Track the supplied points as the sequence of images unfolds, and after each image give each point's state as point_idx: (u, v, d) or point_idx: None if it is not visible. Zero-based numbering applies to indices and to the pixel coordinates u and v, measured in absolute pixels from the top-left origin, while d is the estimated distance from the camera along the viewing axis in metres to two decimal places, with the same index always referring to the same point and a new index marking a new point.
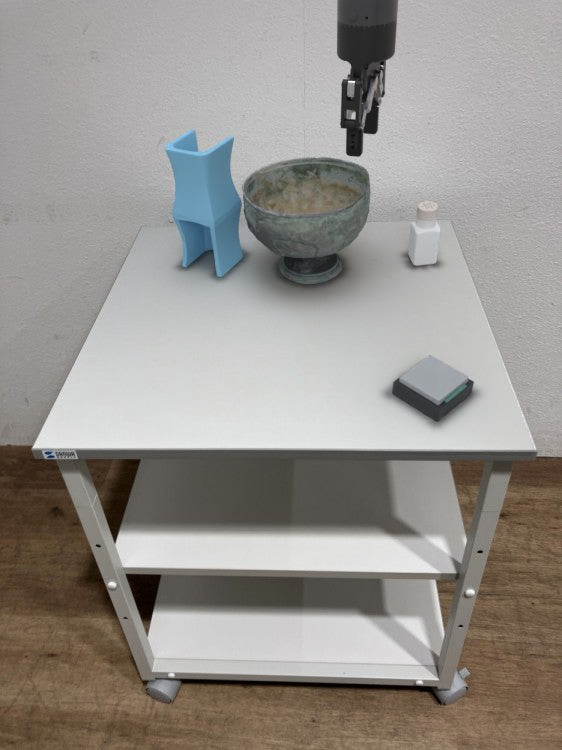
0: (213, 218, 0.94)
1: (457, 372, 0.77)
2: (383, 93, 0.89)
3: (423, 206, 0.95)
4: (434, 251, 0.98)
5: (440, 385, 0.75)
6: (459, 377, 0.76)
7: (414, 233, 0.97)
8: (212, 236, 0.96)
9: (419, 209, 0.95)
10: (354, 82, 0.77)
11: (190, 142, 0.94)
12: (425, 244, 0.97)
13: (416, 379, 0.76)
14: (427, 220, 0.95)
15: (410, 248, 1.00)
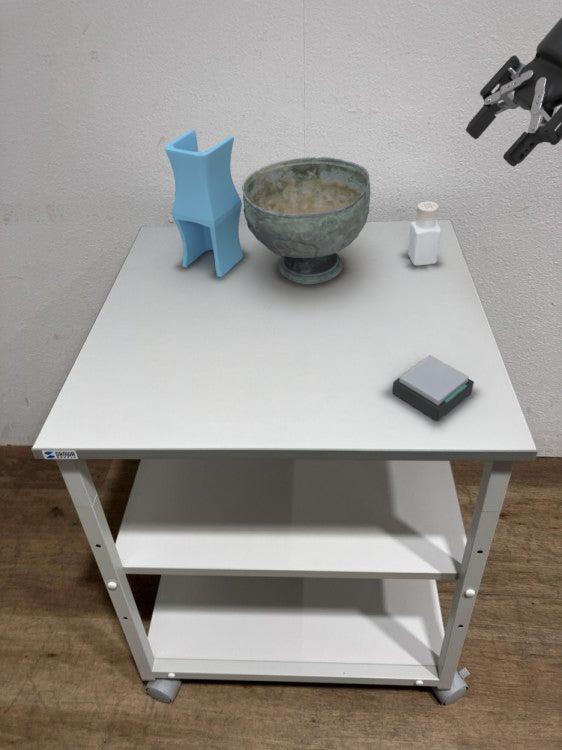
0: (213, 218, 0.94)
1: (457, 372, 0.77)
2: (544, 128, 0.73)
3: (423, 206, 0.95)
4: (434, 251, 0.98)
5: (440, 385, 0.75)
6: (459, 377, 0.76)
7: (414, 233, 0.97)
8: (212, 236, 0.96)
9: (419, 209, 0.95)
10: None
11: (190, 142, 0.94)
12: (425, 244, 0.97)
13: (416, 379, 0.76)
14: (427, 220, 0.95)
15: (410, 248, 1.00)
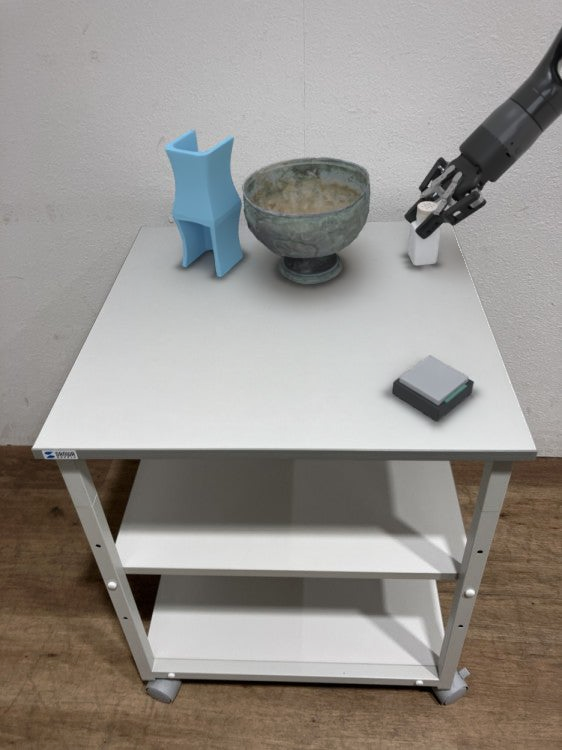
0: (213, 218, 0.94)
1: (457, 372, 0.77)
2: (445, 211, 0.91)
3: (423, 206, 0.95)
4: (434, 251, 0.98)
5: (440, 385, 0.75)
6: (459, 377, 0.76)
7: (414, 233, 0.97)
8: (212, 236, 0.96)
9: (419, 209, 0.95)
10: None
11: (190, 142, 0.94)
12: (425, 244, 0.97)
13: (416, 379, 0.76)
14: None
15: (410, 248, 1.00)
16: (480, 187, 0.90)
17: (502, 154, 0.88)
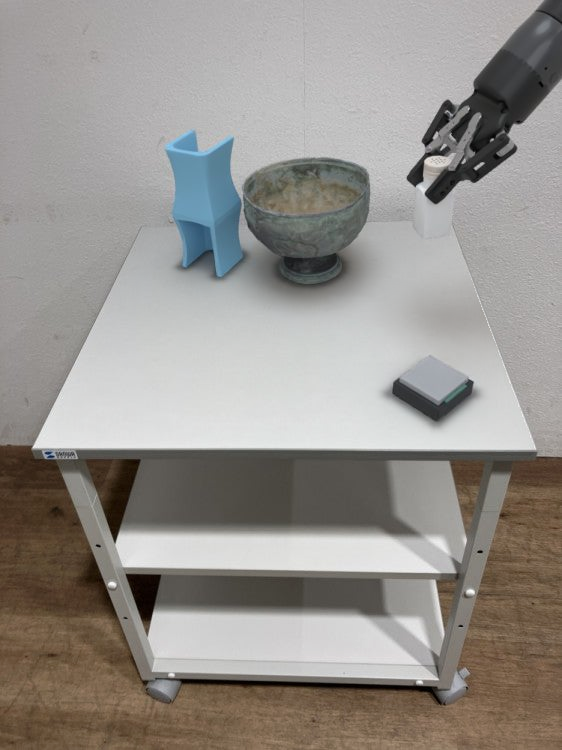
0: (213, 218, 0.94)
1: (457, 372, 0.77)
2: (463, 165, 0.70)
3: (432, 162, 0.74)
4: (448, 220, 0.77)
5: (440, 385, 0.75)
6: (459, 377, 0.76)
7: (422, 198, 0.76)
8: (212, 236, 0.96)
9: (427, 166, 0.74)
10: None
11: (190, 142, 0.94)
12: (437, 211, 0.76)
13: (416, 379, 0.76)
14: None
15: (416, 218, 0.79)
16: (506, 130, 0.70)
17: (534, 84, 0.67)
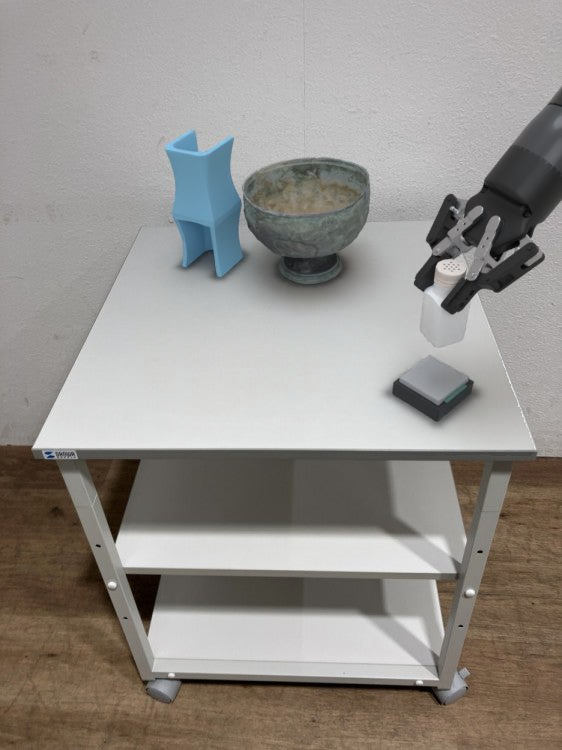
0: (213, 218, 0.94)
1: (457, 372, 0.77)
2: (486, 276, 0.62)
3: (446, 268, 0.65)
4: (462, 326, 0.69)
5: (440, 385, 0.75)
6: (459, 377, 0.76)
7: (435, 307, 0.67)
8: (212, 236, 0.96)
9: (441, 274, 0.65)
10: None
11: (190, 142, 0.94)
12: (452, 319, 0.68)
13: (416, 379, 0.76)
14: None
15: (426, 325, 0.70)
16: (529, 234, 0.62)
17: (558, 185, 0.60)
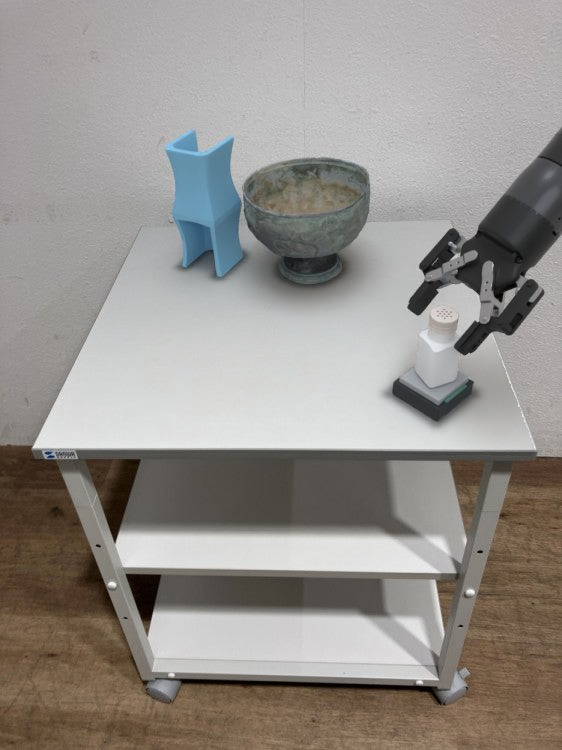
0: (213, 218, 0.94)
1: None
2: (498, 320, 0.64)
3: (439, 316, 0.70)
4: (455, 367, 0.74)
5: (440, 385, 0.75)
6: (459, 377, 0.76)
7: (429, 350, 0.71)
8: (212, 236, 0.96)
9: (435, 321, 0.69)
10: None
11: (190, 142, 0.94)
12: (445, 362, 0.72)
13: (416, 379, 0.76)
14: (446, 334, 0.70)
15: (421, 366, 0.75)
16: None
17: (547, 234, 0.64)
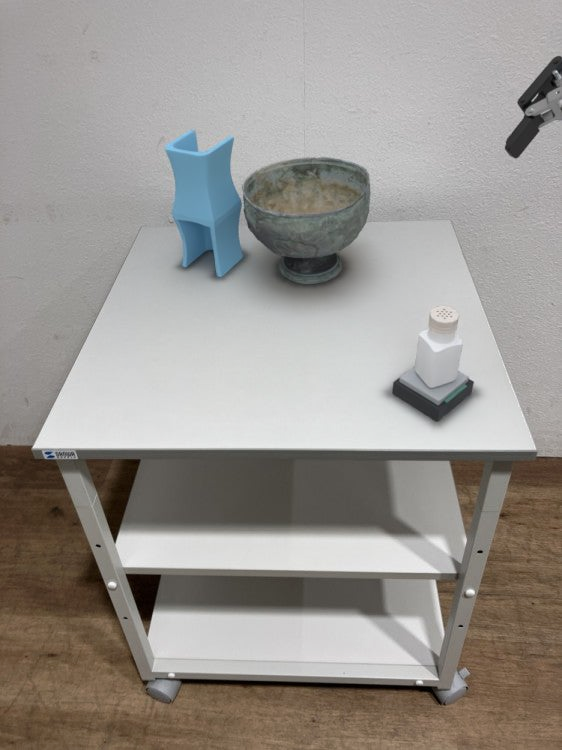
0: (213, 218, 0.94)
1: None
2: None
3: (439, 316, 0.70)
4: (455, 367, 0.74)
5: (440, 385, 0.75)
6: (459, 377, 0.76)
7: (429, 350, 0.71)
8: (212, 236, 0.96)
9: (435, 321, 0.69)
10: None
11: (190, 142, 0.94)
12: (445, 362, 0.72)
13: (416, 379, 0.76)
14: (446, 334, 0.70)
15: (421, 366, 0.75)
16: None
17: None
